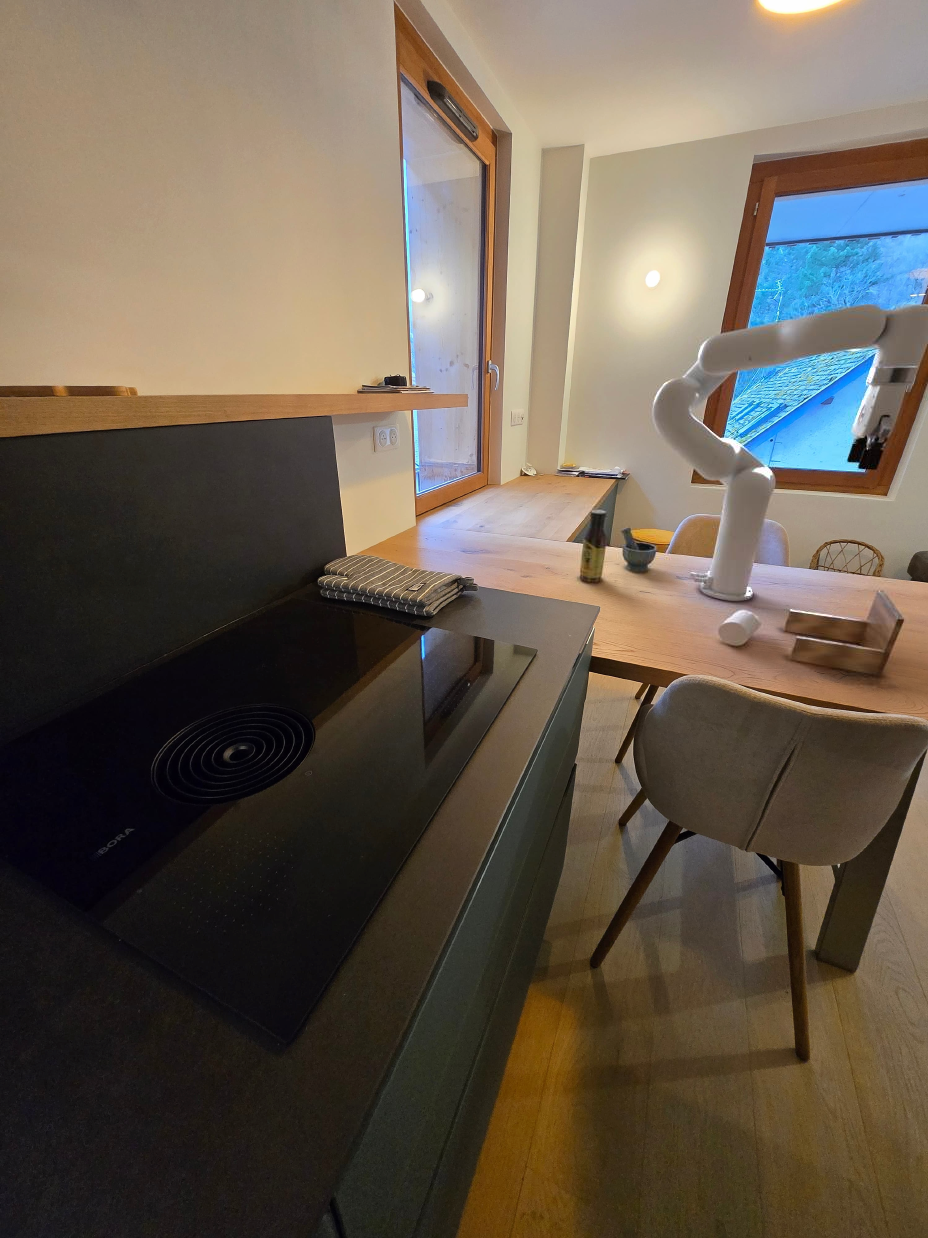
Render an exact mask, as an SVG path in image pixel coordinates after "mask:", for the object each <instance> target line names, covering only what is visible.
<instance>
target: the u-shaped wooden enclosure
mask: <svg viewBox="0 0 928 1238" xmlns="http://www.w3.org/2000/svg"><path fill="white" fill-rule="evenodd" d="M902 615H903V614H901V612H900V611H899V609H897V606H896V605H895V604H894V603H893V601H892V600H891V599H890V597H889V596H888V594H887V593H886V592H885V590H883V589H877V591H876V593H875V596H874V599H873V601H872V604H871V606H870V610H869V612H868V615H867V618H866V620H865V619H859V618H852V617H846V616H845V617H844V616H838V615H833V614H832V615H831V614H825V613H818V612H811V611H804V610H797V609H791V608H789V610H788V613H787V615H786V620H785V623H784V626H783V631H784V632H789V633H795V634H801V635H806V636H814V637H819V639H818V638H812V637H806V636H800V635H796V636H795V639H794V641H793V645H792V648H791V651H790V655H789V660H791V661H797V662H803V663H808V664H812V665H818V666H825V667H830V668H835V669H841V670H847V671H852V672H857V673H863V674H868V675H874V676H879V677H881V676H882V675H883V672H884V670H885V668H886V665H887V663H888V660H889V658H890V655H891V654H892V652H893V648H894V646H895V644H896V642H897V639H898V636H899V634H900V632H901V630H902V627H903V624H904V622H905V618H904V617H903V616H902ZM820 638H826V639H831V641H830V640H825V639H820ZM832 640H838V641H843V642H844V641H845V642H850V643H857V644H859V645H855V644H849V643H843V642H836V641H832Z"/></svg>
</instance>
